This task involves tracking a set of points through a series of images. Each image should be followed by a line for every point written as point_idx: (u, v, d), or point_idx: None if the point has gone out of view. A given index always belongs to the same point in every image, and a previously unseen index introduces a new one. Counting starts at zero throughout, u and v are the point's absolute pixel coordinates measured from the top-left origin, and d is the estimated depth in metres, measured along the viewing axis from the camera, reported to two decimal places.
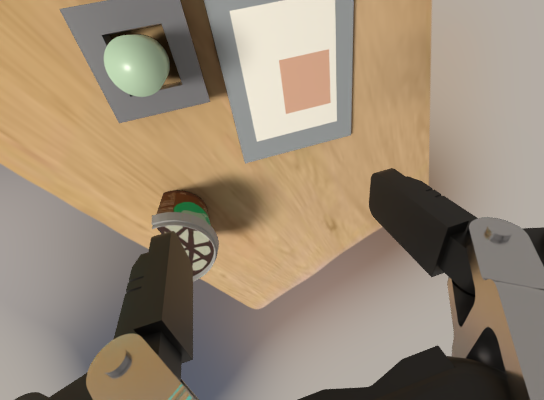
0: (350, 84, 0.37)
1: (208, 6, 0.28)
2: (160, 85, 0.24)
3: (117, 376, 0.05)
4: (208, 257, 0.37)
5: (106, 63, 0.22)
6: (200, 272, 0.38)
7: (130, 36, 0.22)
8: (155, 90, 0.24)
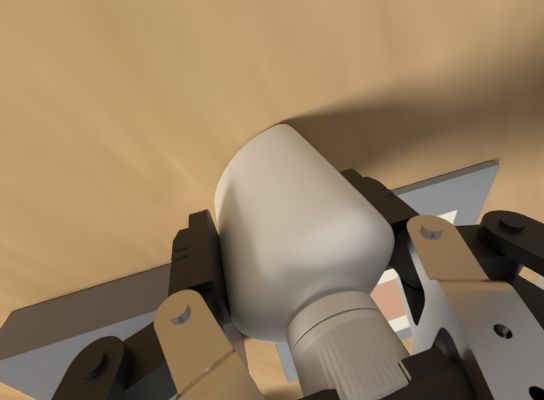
0: None
1: None
2: None
3: (182, 322, 0.06)
4: None
5: None
6: None
7: None
8: None
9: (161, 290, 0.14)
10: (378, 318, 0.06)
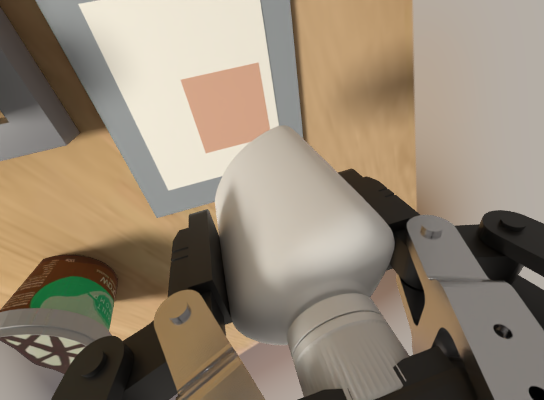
0: (298, 111, 0.26)
1: None
2: None
3: (182, 322, 0.06)
4: None
5: None
6: None
7: None
8: None
9: None
10: (378, 320, 0.06)
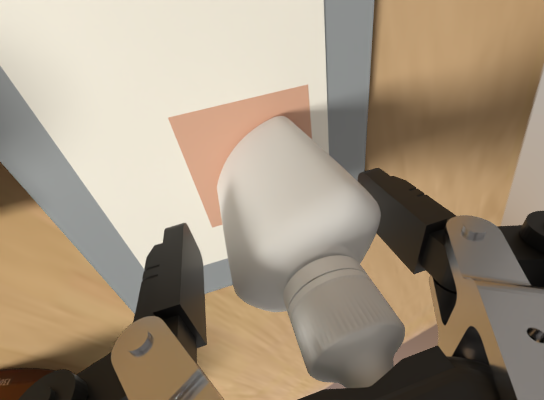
0: (361, 158, 0.16)
1: None
2: None
3: (141, 354, 0.05)
4: None
5: None
6: None
7: None
8: None
9: None
10: (363, 276, 0.06)
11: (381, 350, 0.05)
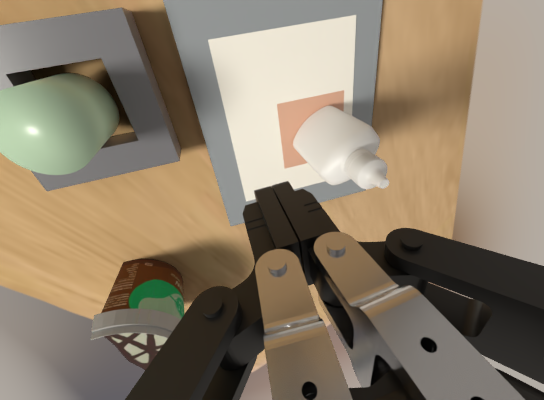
0: None
1: (176, 33, 0.20)
2: (88, 158, 0.15)
3: (285, 274, 0.06)
4: None
5: None
6: None
7: (26, 88, 0.13)
8: (80, 165, 0.16)
9: None
10: (373, 154, 0.19)
11: (380, 168, 0.18)
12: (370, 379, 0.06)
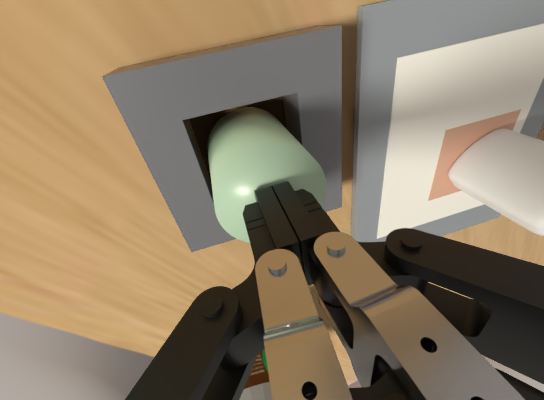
0: None
1: (365, 52, 0.15)
2: None
3: (284, 274, 0.06)
4: None
5: (218, 200, 0.10)
6: None
7: (279, 148, 0.10)
8: None
9: (287, 34, 0.13)
10: None
11: None
12: (370, 379, 0.06)
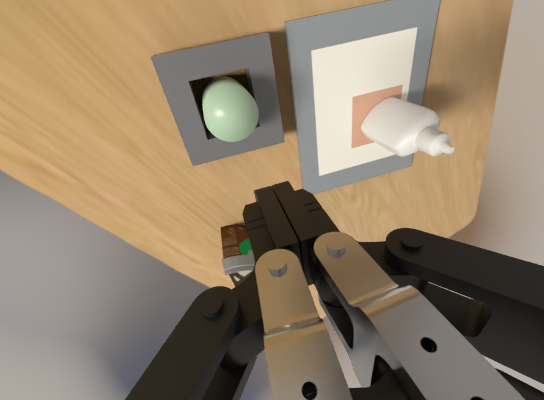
0: None
1: (291, 47, 0.27)
2: (251, 130, 0.24)
3: (284, 274, 0.06)
4: None
5: (205, 112, 0.23)
6: None
7: (232, 87, 0.22)
8: (246, 135, 0.25)
9: (242, 37, 0.25)
10: None
11: (446, 139, 0.25)
12: (370, 379, 0.06)
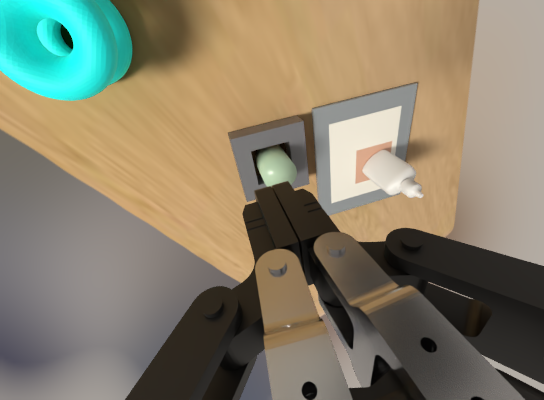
0: None
1: (315, 123, 0.40)
2: (291, 183, 0.38)
3: (284, 274, 0.06)
4: None
5: (264, 174, 0.36)
6: None
7: (282, 159, 0.35)
8: None
9: (285, 122, 0.38)
10: (414, 181, 0.39)
11: (418, 188, 0.38)
12: (370, 379, 0.06)
